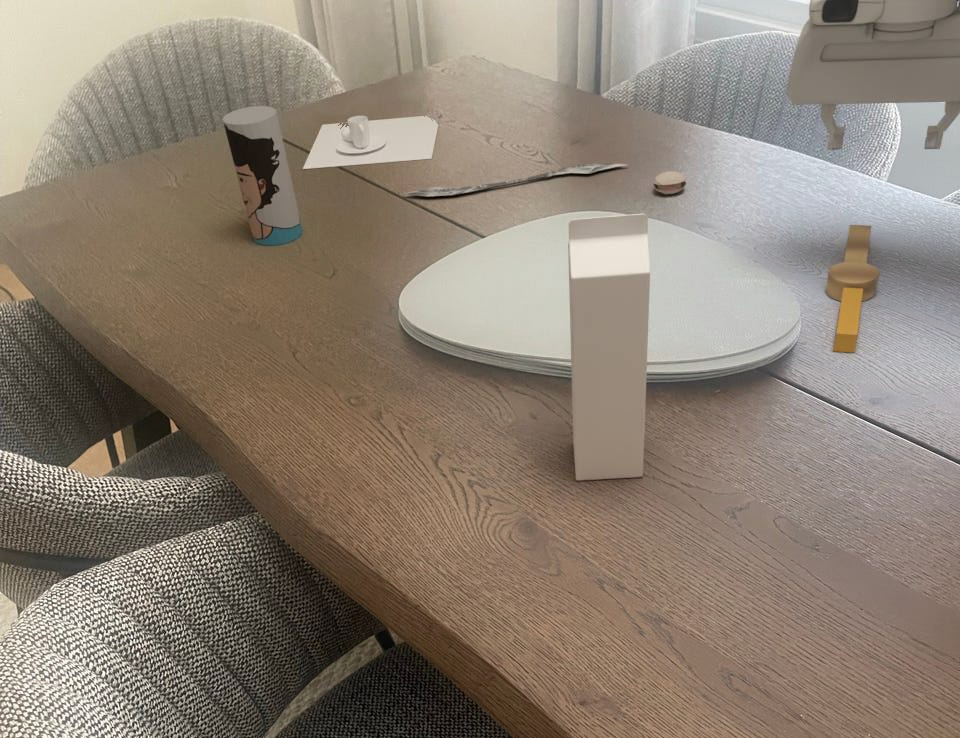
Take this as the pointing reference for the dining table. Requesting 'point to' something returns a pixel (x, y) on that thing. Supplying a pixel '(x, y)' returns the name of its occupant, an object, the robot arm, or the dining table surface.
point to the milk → (609, 343)
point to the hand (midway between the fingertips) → (882, 147)
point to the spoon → (854, 266)
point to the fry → (848, 320)
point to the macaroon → (669, 182)
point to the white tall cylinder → (263, 174)
